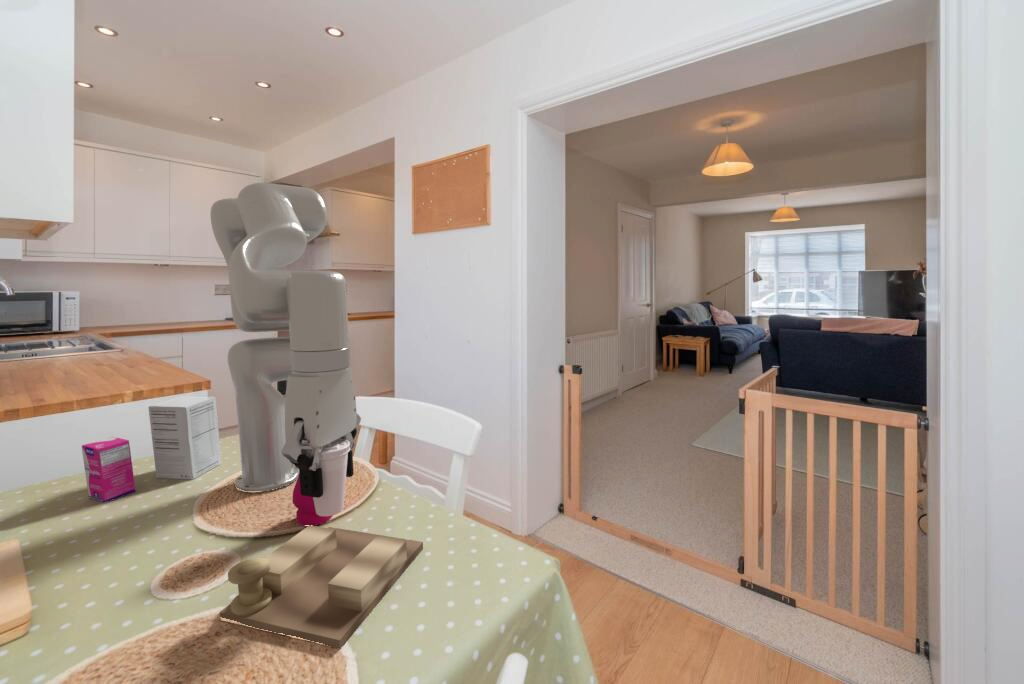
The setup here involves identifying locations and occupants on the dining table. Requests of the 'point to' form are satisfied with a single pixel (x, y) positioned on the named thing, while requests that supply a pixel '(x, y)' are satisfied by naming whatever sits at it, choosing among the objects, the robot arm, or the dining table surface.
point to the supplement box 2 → (185, 437)
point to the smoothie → (332, 477)
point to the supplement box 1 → (108, 468)
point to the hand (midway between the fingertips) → (328, 484)
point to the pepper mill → (306, 508)
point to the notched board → (319, 583)
